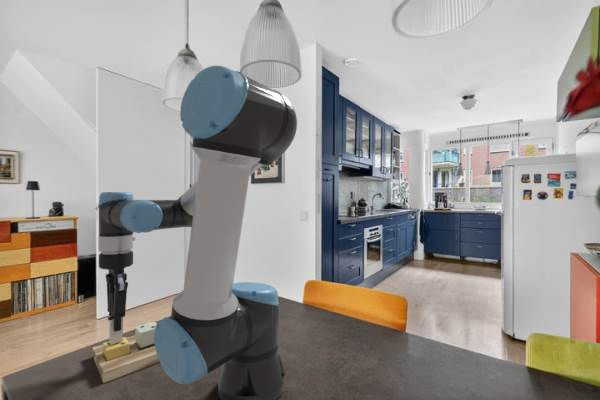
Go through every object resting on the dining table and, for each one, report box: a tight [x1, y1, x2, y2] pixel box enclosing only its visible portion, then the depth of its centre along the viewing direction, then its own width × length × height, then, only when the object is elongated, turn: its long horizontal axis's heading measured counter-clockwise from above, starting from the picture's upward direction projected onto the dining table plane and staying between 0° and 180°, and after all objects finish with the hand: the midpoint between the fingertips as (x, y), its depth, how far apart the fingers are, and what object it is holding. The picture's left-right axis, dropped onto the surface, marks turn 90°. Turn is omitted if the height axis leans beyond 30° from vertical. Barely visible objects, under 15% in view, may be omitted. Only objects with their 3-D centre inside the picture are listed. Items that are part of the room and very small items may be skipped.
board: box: [92, 334, 160, 384], centre depth 79 cm, size 15×23×2 cm, turn 134°
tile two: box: [134, 321, 158, 348], centre depth 79 cm, size 5×5×4 cm
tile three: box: [102, 336, 130, 362], centre depth 74 cm, size 5×5×4 cm
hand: (116, 341), depth 74 cm, fingers closed
